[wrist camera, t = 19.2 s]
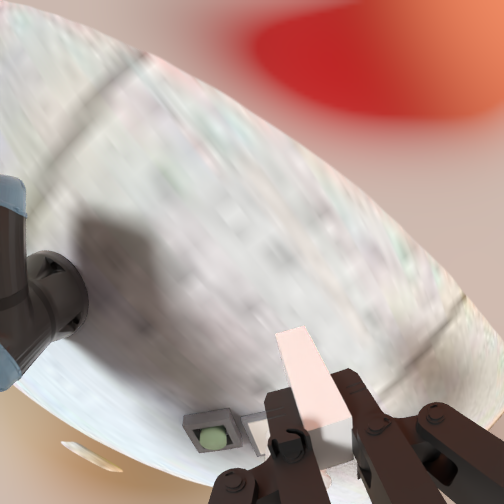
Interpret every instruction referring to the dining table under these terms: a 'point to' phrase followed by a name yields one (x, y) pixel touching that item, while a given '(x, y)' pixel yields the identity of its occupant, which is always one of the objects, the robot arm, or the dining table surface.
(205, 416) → the button housing
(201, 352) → the dining table surface
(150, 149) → the dining table surface
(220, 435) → the button
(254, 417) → the board
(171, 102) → the dining table surface
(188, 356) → the dining table surface
